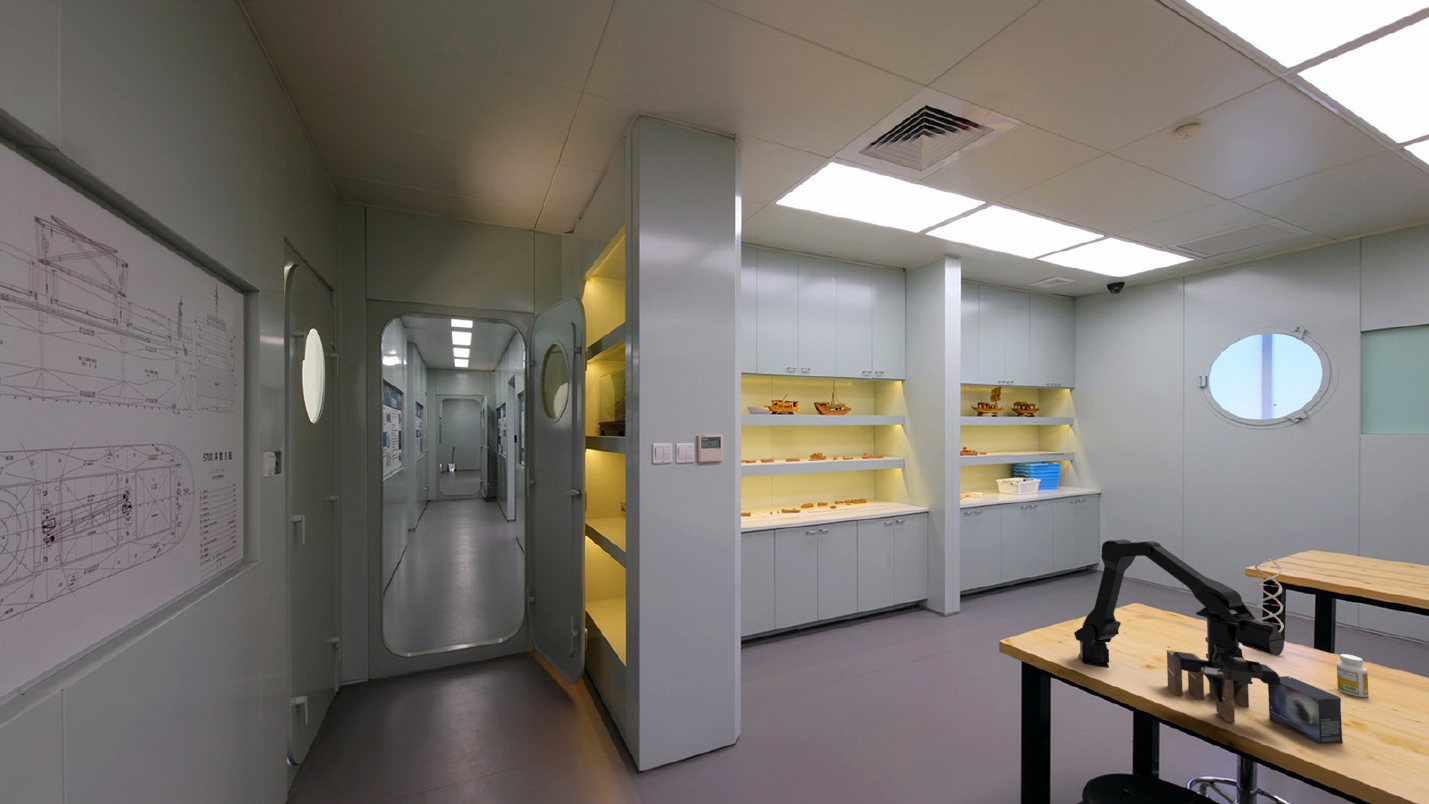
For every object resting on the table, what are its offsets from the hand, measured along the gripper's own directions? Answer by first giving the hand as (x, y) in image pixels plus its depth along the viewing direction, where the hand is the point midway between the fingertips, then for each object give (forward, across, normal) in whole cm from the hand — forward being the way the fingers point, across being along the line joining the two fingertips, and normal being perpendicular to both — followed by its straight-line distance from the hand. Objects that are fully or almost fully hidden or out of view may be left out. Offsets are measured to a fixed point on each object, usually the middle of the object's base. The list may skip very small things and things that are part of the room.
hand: (1224, 702), depth 129 cm
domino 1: (+4, -6, +12) cm, 14 cm away
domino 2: (+4, -2, +12) cm, 13 cm away
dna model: (+4, +33, +57) cm, 66 cm away
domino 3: (+4, +3, +12) cm, 13 cm away
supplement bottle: (+4, +39, +32) cm, 51 cm away
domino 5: (+4, +8, +12) cm, 15 cm away
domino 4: (+4, 0, 0) cm, 4 cm away
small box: (+4, +15, +1) cm, 16 cm away
